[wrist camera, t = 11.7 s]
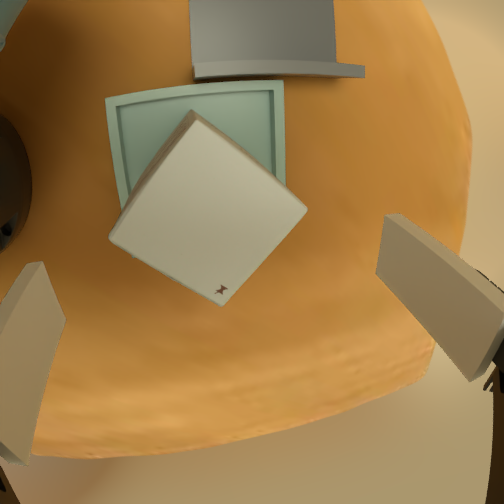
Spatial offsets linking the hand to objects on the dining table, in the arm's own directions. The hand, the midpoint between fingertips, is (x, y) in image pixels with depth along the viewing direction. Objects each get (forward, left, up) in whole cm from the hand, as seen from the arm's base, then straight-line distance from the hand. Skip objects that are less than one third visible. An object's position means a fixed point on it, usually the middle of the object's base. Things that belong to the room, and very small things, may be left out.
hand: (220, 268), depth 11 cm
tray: (0, 0, -17) cm, 17 cm away
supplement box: (0, 0, -17) cm, 17 cm away
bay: (+6, +16, -17) cm, 24 cm away
